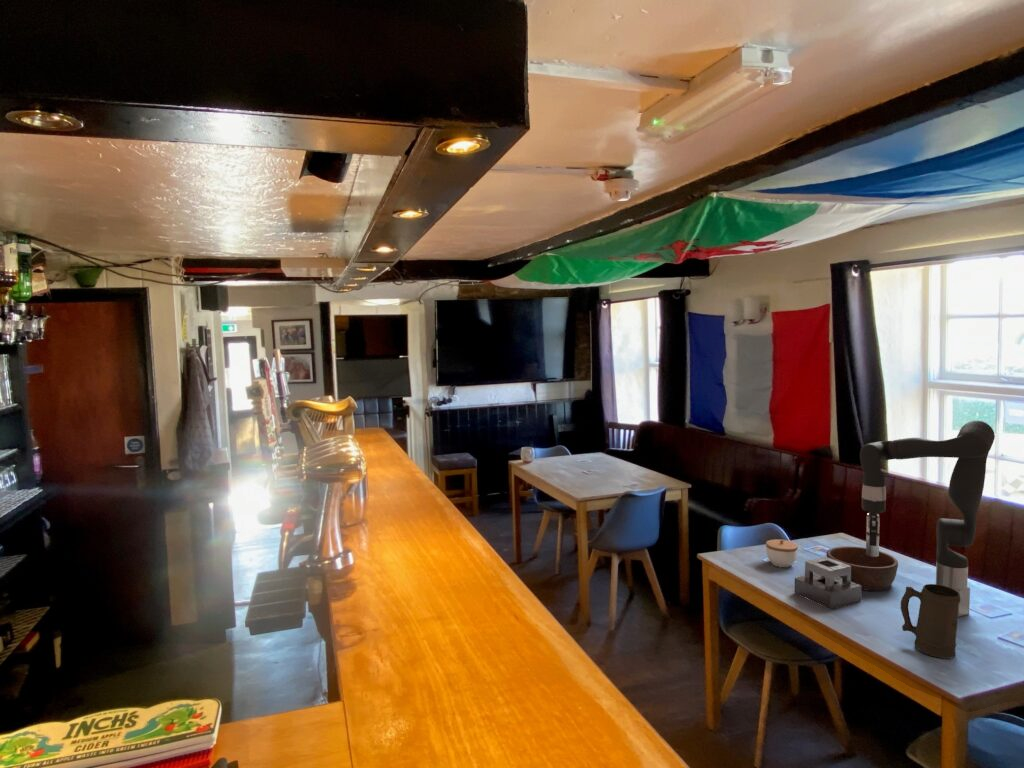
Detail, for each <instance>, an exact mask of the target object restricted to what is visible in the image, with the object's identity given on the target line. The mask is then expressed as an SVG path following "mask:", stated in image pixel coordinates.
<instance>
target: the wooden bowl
mask: <svg viewBox="0 0 1024 768" xmlns="http://www.w3.org/2000/svg"><path fill="white" fill-rule="evenodd" d="M826 557H828V558H830V559H833V560H836V561H839V562H841V563H844V564H847V565H849V566H851V582H854V583H856V584H859V585H861V586H862V587H861V591H862V590H863V591H882V590H886V589H888V588H890V587H891V586H892V584H893V583H894V581H895V579H896V577H897V571H898V566H899V562H898V560H897V558H895V557H894V556H893V555H891V554H888V553H886V552H884V551H881V550H879V556H877V557H873V556H868V555H866V547H861V546H851V545H848V546H847V545H845V546H844V545H843V546H834V547H832V548H829V549H828V550H827V551H826ZM841 578H842V576H841Z"/></svg>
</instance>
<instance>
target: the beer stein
mask: <svg viewBox="0 0 1024 768" xmlns="http://www.w3.org/2000/svg"><path fill="white" fill-rule="evenodd" d="M913 597H915V598H918V599H919V601H920V603H919V610H918V617H917V622H916V625H913V624H912V621H911V617H910V616H911V615H910V612H909V610H910V609H909V602H910V599H911V598H913ZM960 600H961V599H960V594H959V593H958V592H957V591H956V590H954V589H952V588H949V587H946V586H942V585H937V584H936V583H932V584H931V583H926V584H925V585H923V587H922V589H921V591H918V590H916V589H914V588H913V586H905V592H904V594H903V596H902V597H901V600H900V611H901V615H902V618H903V620H904V623H903V625H902V626H901V627H902V628H901V629H902V631H903V632H911V633H912V634H913V635H914V636H915V640H914V646H915V647H916V648H917V650H919V651H921V652H923V653H925V655H926V654H927V655H929V656H931V657H935V658H940V659H952V658H954V657H955V656H956V647H957V642H956V639H957V637H956V636H957V629H958V618H959V617H958V605H959V603H960Z"/></svg>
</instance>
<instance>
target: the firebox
mask: <svg viewBox="0 0 1024 768" xmlns="http://www.w3.org/2000/svg"><path fill="white" fill-rule="evenodd" d="M841 576H842V578H841ZM861 587H862V586H861V585H859V584H856V583H854V582H851V566H849V565H847V564H844V563H841V562H839V561H836V560H833V559H830V558H828V557H827V556H823V557H819V558H813V559H810V560H805V562H804V575H802V576H798V577H794V592H795V593H797V594H799V595H798V596H800V595H801V596H800V597H802V596H803V597H802V598H804V597H806V598H808V599H810V600H809V601H811V600H812V601H811V602H813V601H814V602H813V603H815V602H816V603H815V604H817V603H819V604H821V605H823V606H822V607H824V606H825V607H824V608H826V607H827V608H826V609H828V608H829V609H828V610H830V609H831V610H834V608H835V609H837V607H838V608H842V607H845V606H844V605H846V606H849V605H852V603H853V604H856V603H860V602H862V590H861ZM795 593H794V594H795ZM797 594H796V595H797ZM806 598H805V599H806ZM808 599H807V600H808ZM819 604H818V605H819ZM848 604H849V605H848ZM821 605H820V606H821ZM841 606H842V607H841Z"/></svg>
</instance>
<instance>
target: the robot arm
mask: <svg viewBox="0 0 1024 768" xmlns="http://www.w3.org/2000/svg"><path fill="white" fill-rule="evenodd" d="M995 437H996V435H995V430H993V428H992V426H990V425H989V424H988V423H987V422H985V421H983V420H972V421H971V420H970V421H968V422H967V423H965V424H964V425H963V426H962V427H961V428H960V429H959V431H958V434H957V436H956V437H954V438H950V439H945V440H944V439H943V440H932V439H929V438H925V437H916V436H915V437H906V438H899V439H894V440H883V441H880V440H879V441H874V442H870V443H866V444H864V445H862V447H861V449H860V452H859V460H860V465H861V468H862V469H861V470H862V473H863V474H862V490H861V509H862V510H863V511H865V512H868V513H867V514H866V521H867V520H868V528H869V535H870V536H869V545H871V546H876V542H877V535H878V533H877V530H878V529H879V530H880V521H881V520H880V519H881V517H880V514H878V513H884V512H886V509H887V508H886V507H887V505H886V504H887V503H886V502H887V490H886V480H887V479H886V477H887V475H886V471H885V470H884V469H882V467H881V462H885V461H889V460H890V461H891V460H909V459H917V458H954V459H955V458H957V460H956V462H955V465H954V467H953V470H952V473H951V476H950V479H949V484H948V491H947V494H948V496H949V498H950V500H951V501H952V503H953V504H954V506H956V508H957V510H959V512H960V513H961V515H962V516H963V519H956V518H955V519H954V518H943V517H941V518H938V520H937V522H936V528H935V529H936V530H935V531H936V561H935V562H936V563H935V565H936V566H935V584H937V585H942V586H946V587H949V588H952V589H954V590H956V591H957V592H958V593H959V594H960V599H961V600H960V603H959V605H958V617H957V618H960V617H963V616H965V615H969V614H970V601H971V588H970V587H968V582H969V581H968V579H969V578H968V577H969V559H968V557H967V556H965V555H963V554H961V553H959V552H957V551H954V550H952V549H951V548H950V547H949V546H954V547H963V548H967V547H971V546H972V545H973V544H974V542H975V539H976V538H975V537H976V531H977V530H976V528H977V520H978V512H979V509H980V504H981V501H982V497H983V493H984V492H983V491H984V487H985V480H986V470H987V460H988V456H989V454H990V453H989V452H990V451H991V448H992V446H993V444H994V441H995ZM869 524H870V525H869ZM871 530H876V532H871Z"/></svg>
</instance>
